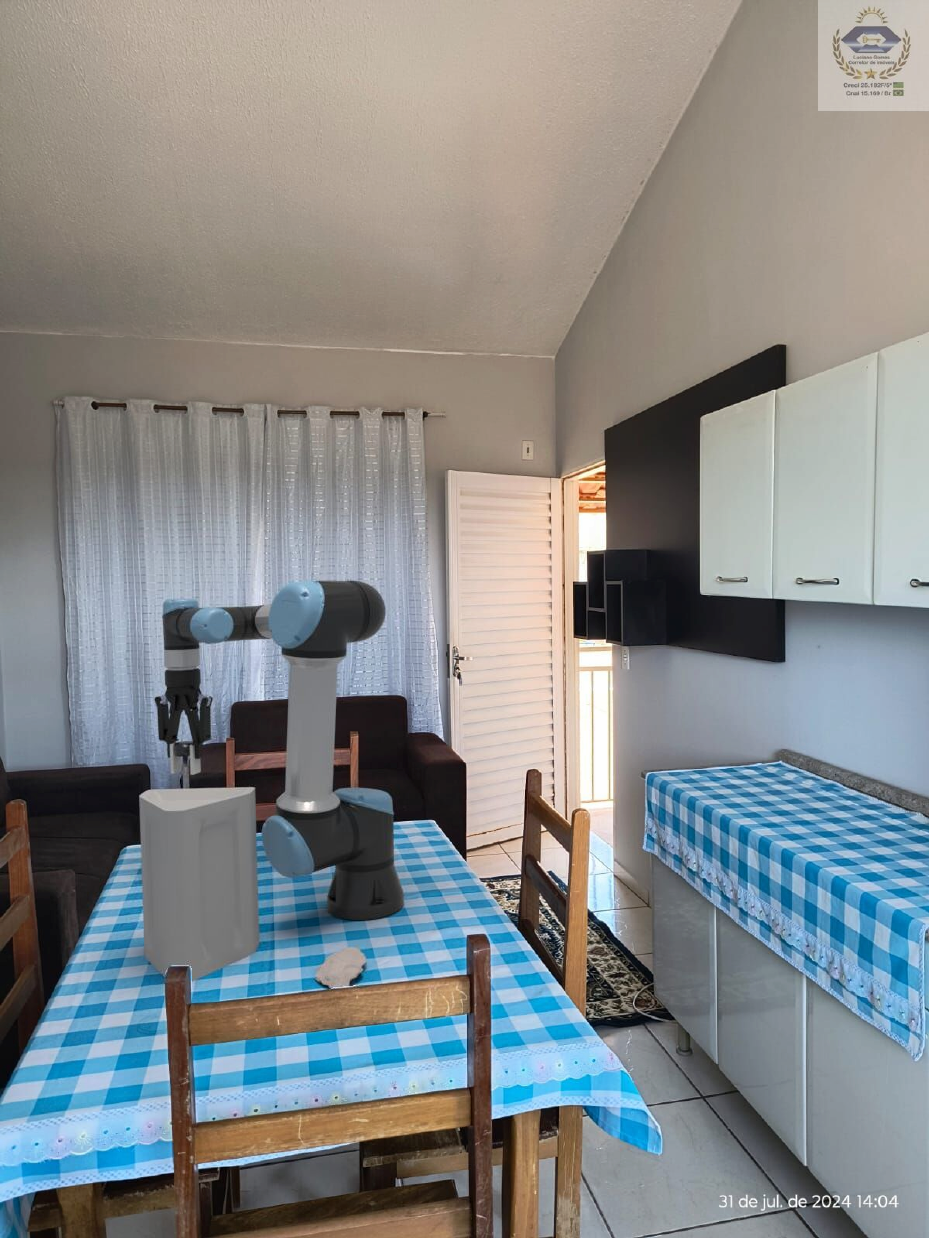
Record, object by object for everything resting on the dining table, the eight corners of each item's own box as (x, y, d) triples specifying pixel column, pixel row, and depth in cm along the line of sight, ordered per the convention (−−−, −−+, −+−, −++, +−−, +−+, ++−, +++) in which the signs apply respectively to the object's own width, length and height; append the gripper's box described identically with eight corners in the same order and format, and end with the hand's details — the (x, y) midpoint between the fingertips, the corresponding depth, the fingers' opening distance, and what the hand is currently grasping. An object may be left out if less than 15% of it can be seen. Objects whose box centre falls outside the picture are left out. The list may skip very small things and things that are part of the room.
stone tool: (365, 996, 126) (366, 960, 141) (366, 976, 126) (366, 942, 141) (312, 997, 125) (318, 960, 140) (312, 977, 125) (319, 942, 140)
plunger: (158, 833, 179) (155, 745, 179) (182, 822, 187) (179, 738, 187) (192, 836, 177) (190, 747, 176) (215, 824, 185) (212, 739, 184)
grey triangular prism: (120, 984, 131) (114, 812, 130) (153, 944, 146) (148, 789, 145) (239, 981, 131) (234, 809, 130) (260, 941, 146) (256, 787, 145)
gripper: (226, 666, 182) (229, 770, 183) (159, 666, 187) (162, 767, 188) (207, 670, 175) (210, 778, 176) (137, 669, 180) (141, 774, 181)
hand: (185, 772), depth 182 cm, fingers closed on plunger, 4 cm apart
